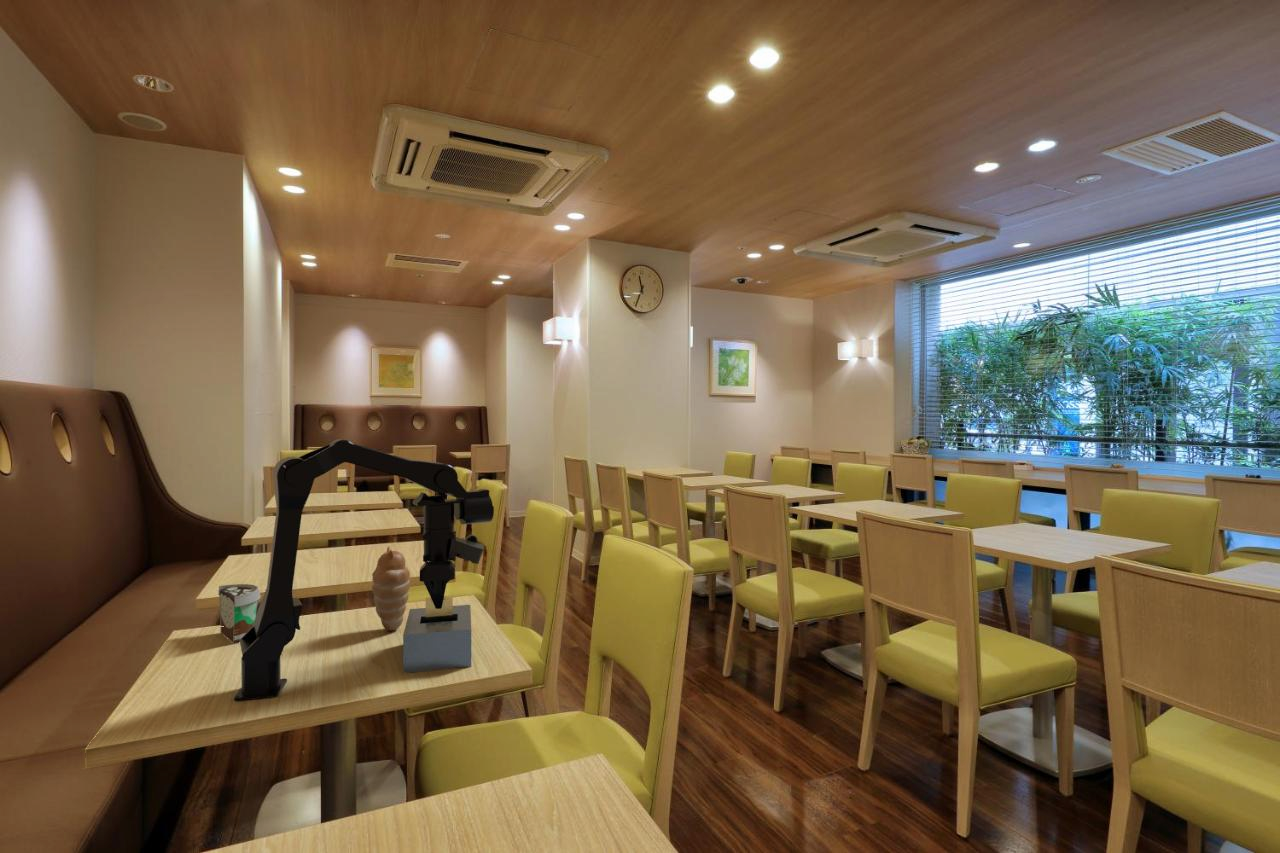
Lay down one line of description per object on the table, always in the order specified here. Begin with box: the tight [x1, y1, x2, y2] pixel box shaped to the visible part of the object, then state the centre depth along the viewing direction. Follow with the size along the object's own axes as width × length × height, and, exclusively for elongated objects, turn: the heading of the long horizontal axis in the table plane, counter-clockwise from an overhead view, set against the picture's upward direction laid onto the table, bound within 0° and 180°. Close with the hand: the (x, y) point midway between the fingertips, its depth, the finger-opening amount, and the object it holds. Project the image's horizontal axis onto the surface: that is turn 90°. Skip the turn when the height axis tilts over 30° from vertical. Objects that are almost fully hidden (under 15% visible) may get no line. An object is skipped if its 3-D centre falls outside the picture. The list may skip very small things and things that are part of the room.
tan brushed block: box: [425, 595, 454, 617], centre depth 125 cm, size 3×5×3 cm, turn 108°
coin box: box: [402, 604, 472, 674], centre depth 126 cm, size 16×12×7 cm
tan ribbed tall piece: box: [371, 545, 411, 632], centre depth 139 cm, size 9×8×18 cm
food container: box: [218, 583, 262, 645], centre depth 136 cm, size 12×6×10 cm, turn 47°
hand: (439, 606), depth 125 cm, fingers closed on tan brushed block, 3 cm apart
